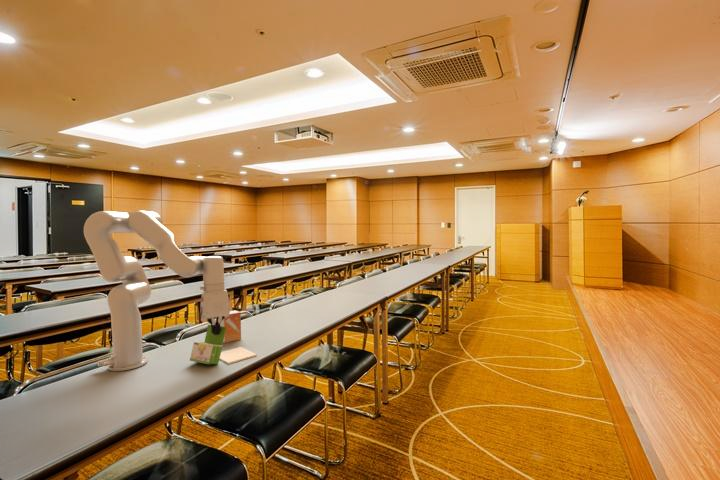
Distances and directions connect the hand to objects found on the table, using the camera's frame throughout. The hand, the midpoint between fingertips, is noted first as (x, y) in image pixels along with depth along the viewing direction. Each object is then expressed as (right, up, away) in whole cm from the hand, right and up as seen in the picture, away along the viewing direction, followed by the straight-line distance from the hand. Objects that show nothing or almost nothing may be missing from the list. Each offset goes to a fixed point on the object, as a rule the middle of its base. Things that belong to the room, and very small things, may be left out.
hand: (216, 333), depth 138 cm
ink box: (-3, -10, -3) cm, 11 cm away
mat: (+5, -11, +6) cm, 13 cm away
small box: (-4, -10, +27) cm, 29 cm away
